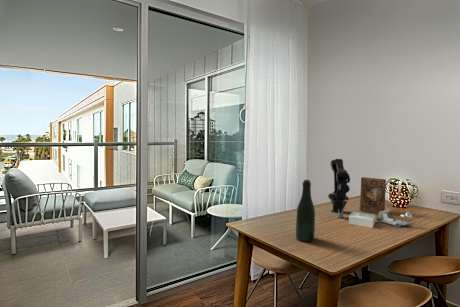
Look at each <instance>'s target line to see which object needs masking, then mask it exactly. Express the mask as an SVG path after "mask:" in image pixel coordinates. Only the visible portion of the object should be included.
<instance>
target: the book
mask: <svg viewBox="0 0 460 307" xmlns="http://www.w3.org/2000/svg"><path fill="white" fill-rule="evenodd" d="M360 178H361V179H360V196H359V212H363V213H371V212H372V213H371V214H378V213H379V212H380V211H385V210H386V209H385V208H386V206H385V205H386V190H387V189H386V188H387V187H386V186H387V179H384V178H374V177H360Z"/></svg>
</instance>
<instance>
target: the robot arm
mask: <svg viewBox="0 0 460 307" xmlns="http://www.w3.org/2000/svg"><path fill="white" fill-rule="evenodd" d="M329 164H330V168H331V170H332V172H333V192H332V193H329V194H328V195H327V196H328V198H329V200H330V203H331V205H332V210H331V212H332V213H337V214H338V209H339V213H341V212H342V210H343V211H344V209H345V207H346V206H347V203H348V201H349V196H348V195H347V193H349V191H350V190H351V189H350V185H348V184H350V182H351V178H350V174H349V172H348V171H347V170H346V169H345V167H344V161H343V159H342V158H335V159H332V160H331V161H330V163H329Z"/></svg>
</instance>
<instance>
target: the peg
mask: <svg viewBox="0 0 460 307" xmlns="http://www.w3.org/2000/svg"><path fill="white" fill-rule="evenodd" d="M337 214H338V215H337V218H338V219H341V220H342V219H344V209H343V210H342V212H341V213H339V209H338V213H337Z"/></svg>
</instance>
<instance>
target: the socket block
mask: <svg viewBox="0 0 460 307" xmlns="http://www.w3.org/2000/svg"><path fill="white" fill-rule="evenodd" d="M375 223H376V213H369V212H362V211H354V210H353V211H352V212H350V214H349V216H348V224H349V225H354V226H360V227H366V228H370V229H371V228H372V229H373V228H374V225H375Z"/></svg>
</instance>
